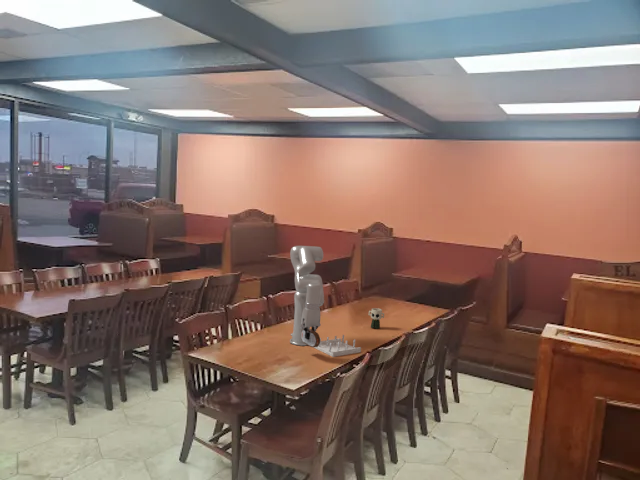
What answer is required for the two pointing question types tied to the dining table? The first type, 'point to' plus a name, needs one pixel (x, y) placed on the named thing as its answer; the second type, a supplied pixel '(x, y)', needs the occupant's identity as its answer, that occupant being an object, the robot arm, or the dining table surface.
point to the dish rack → (337, 347)
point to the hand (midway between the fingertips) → (309, 338)
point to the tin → (311, 338)
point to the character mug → (376, 317)
